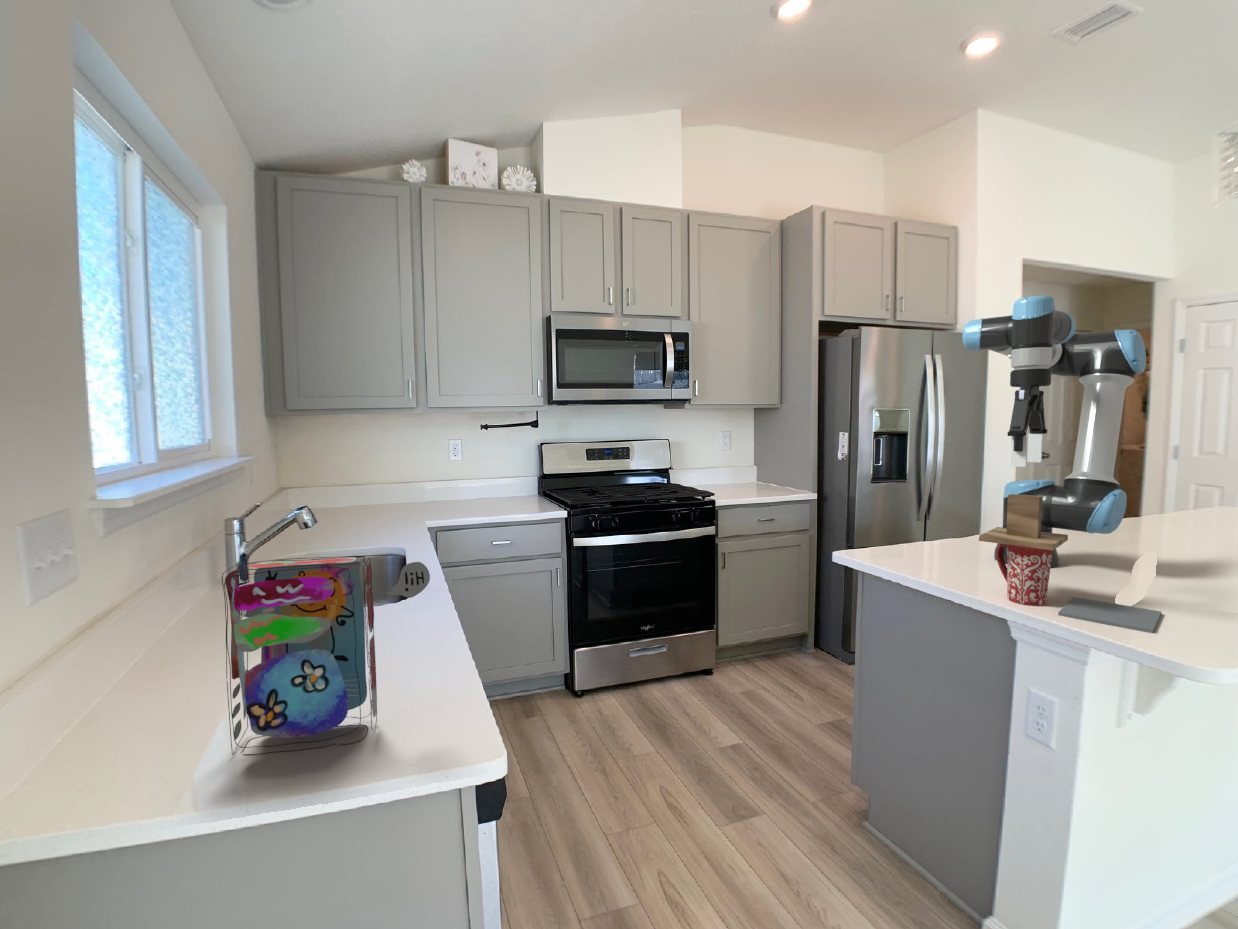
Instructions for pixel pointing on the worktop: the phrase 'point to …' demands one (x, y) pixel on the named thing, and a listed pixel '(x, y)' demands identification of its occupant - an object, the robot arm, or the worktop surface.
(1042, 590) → the mug
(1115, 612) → the mat
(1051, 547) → the wooden base stand
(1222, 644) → the worktop surface
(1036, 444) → the robot arm
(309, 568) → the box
